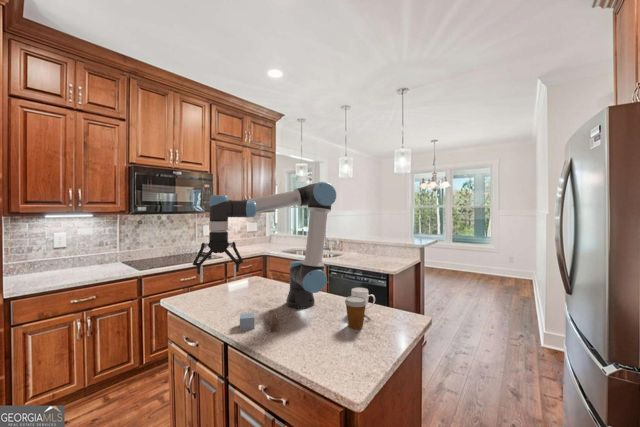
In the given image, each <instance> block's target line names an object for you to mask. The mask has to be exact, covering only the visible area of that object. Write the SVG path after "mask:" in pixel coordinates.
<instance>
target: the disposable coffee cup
mask: <svg viewBox="0 0 640 427" xmlns="http://www.w3.org/2000/svg"><path fill="white" fill-rule="evenodd" d="M344 302H345V308H346V316H347V325H348V328H349V329H353V330H359V329H363V327H364V321H365V320H364V319H365V313H366V310H365V306H366V304H367V302H366V299H365V298H363V297H360V296H351V295H350V296H346V298H345V300H344ZM367 305H368V304H367Z"/></svg>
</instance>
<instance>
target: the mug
mask: <svg viewBox="0 0 640 427" xmlns="http://www.w3.org/2000/svg"><path fill="white" fill-rule="evenodd" d="M350 294H351V295H350V296H360V297H363V298H365V299H366V302H367V304H366V306H365V311H366V310H368V309H369V308H371V307H372V306H374V305H375V302H376V297H375V295H374V294H369V289H368V288H366V287H353V288H351V293H350ZM369 297H372V298H373V302H372V304H370V305H369V306H368V302H369ZM367 306H368V307H367Z"/></svg>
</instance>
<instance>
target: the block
mask: <svg viewBox="0 0 640 427" xmlns="http://www.w3.org/2000/svg"><path fill="white" fill-rule="evenodd" d="M239 315H240V316H239V330H240V329H249V330H255V312H245V313H243V312H242V313H240V314H239Z"/></svg>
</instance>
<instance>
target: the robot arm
mask: <svg viewBox="0 0 640 427" xmlns="http://www.w3.org/2000/svg"><path fill="white" fill-rule="evenodd" d="M336 200H337V191H336V188H335V187H334V186H333V185H332V184H331V183H329V182H325V181H320V182H319V181H318V182H316V183H311V184H308V185H305V186H302V187H297V188H294V189H293V190H292V191H287V192H280V193H275V194H269V195H263V196H258V197H252V198H246V199H242V200H236V199H235V200H233V199H229V195H226V194H225V195H222V194H216V195H215V194H212V195H210V197H209V205H208V206H209V207H208V208H209V231H210V232H208V233H209V234H208V235H209V236H208V238H209V241H208V243H206V242H202V243H201V245H200V248H199V251H198V253H197V255H196V257H195V259H194V260H193V261H192V262H193V263H192V265H193V266H194V267H195V266H196V268H197V269H196V270H197V271H196V273H197V275H199V283H203V281H204V280H203V273H204V272H203V270H204V269H203V264H204V262H206V260H207V259H208V258H209V257H210V256H211V254H223V253H225V254H226V255H227V256H228V257H229V258H230V259H231V260H232V262H233V263H234V264H233V281H236V280H237V273H239V271H240V270H239V269H240V268H239V267H240V265H241V264H243V263H244V260H243V258H242V256H241V255H240V253H239V251H238V248H237V246H236V242H235V241H233V242H229V232H228V230H229V218H247V219H248V218H255V217H256V215H257V214H258V213H262V212H268V211H273V210H277V209H284V208H287V207H294V206H296V207H304V206H307V209H308V210H309V219H308V220H309V221H308V228H307V231H308V232H307V238H306V246H305V255H304V256H305V257H304V260H296V261H291V262H290V263H289V291H288V294H287V297H286V303H285V304H286V306H287V307H289V308H293V309H308V308H311V307H313V306H314V305H315V304H316V303H315V297H314V294H317V293H319V292H321V291H323V289H324V288H326V284H327V281H328V278H327V275H326V273H325V264H324V262H323V256H324V255H323V254H324V247H325V238H326V228H327V220H328V214H329V213H330V212H331V211H332V205H333V204H334V203H335V201H336ZM229 246H230V248H232V249H233V251H234V253H235V256H236V257H237V258H236V257H234V255H233V254H232V253H231V252H230V251H229V250H228V248H229ZM207 247H208V248H209V250H208V251H207V253H206V254H205V255H204V256H203V257H202V259H201V260H200V261H199V259H200V258H201V255H202V253H203V252H204V250H205V249H206V248H207ZM237 259H238V260H237ZM198 261H199V262H198Z"/></svg>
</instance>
